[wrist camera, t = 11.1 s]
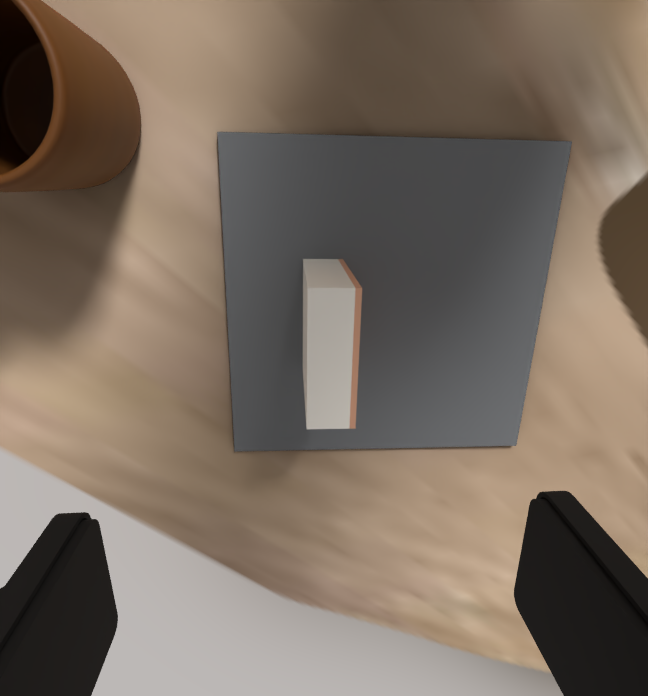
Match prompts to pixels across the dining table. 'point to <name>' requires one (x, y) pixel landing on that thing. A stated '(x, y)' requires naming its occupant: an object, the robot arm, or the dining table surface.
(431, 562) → the dining table surface
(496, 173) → the mat
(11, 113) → the mug
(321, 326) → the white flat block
